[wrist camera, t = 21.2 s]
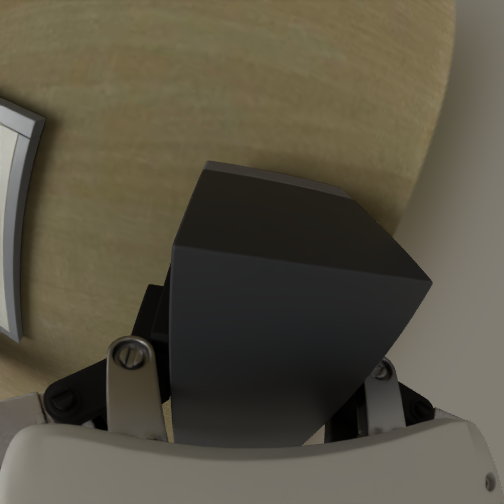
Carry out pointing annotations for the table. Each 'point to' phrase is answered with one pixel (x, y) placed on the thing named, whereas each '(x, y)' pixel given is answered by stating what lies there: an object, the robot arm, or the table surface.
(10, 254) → the whiteboard
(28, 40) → the table surface
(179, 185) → the table surface
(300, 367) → the whiteboard eraser
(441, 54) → the table surface
